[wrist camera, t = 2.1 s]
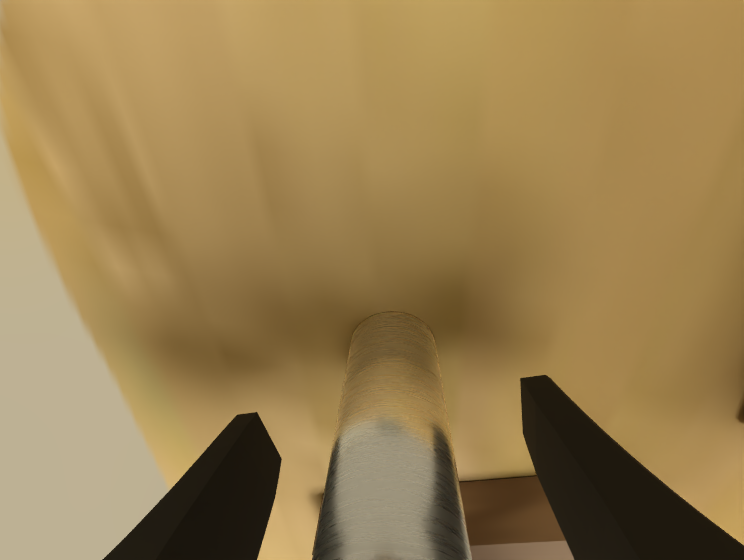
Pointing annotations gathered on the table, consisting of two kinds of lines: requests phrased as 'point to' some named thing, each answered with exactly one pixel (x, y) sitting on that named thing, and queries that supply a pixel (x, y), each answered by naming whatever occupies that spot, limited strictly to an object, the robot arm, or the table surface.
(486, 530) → the brown board with hole
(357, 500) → the steel pin
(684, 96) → the table surface
